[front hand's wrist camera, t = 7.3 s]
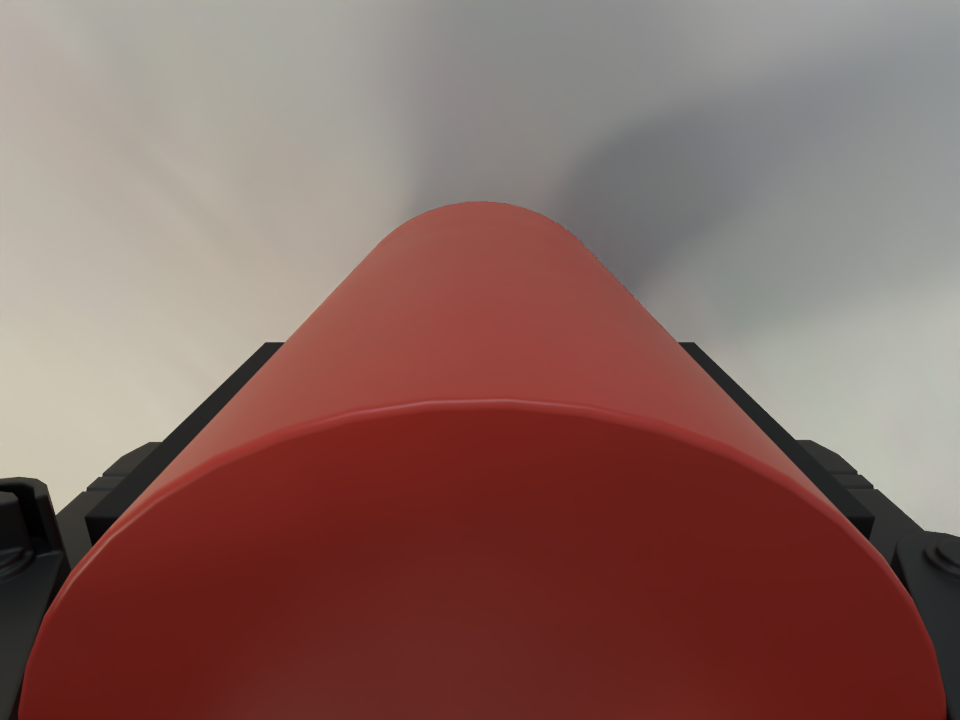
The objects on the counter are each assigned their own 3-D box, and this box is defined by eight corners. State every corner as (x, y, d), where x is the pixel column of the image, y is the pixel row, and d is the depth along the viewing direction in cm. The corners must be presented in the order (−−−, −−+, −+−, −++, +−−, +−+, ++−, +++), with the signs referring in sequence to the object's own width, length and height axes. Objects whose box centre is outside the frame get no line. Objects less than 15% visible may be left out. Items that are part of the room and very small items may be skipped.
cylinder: (541, 500, 19) (644, 1115, 7) (304, 405, 18) (-52, 946, 6) (671, 277, 17) (1174, 643, 5) (405, 148, 15) (144, 190, 3)
